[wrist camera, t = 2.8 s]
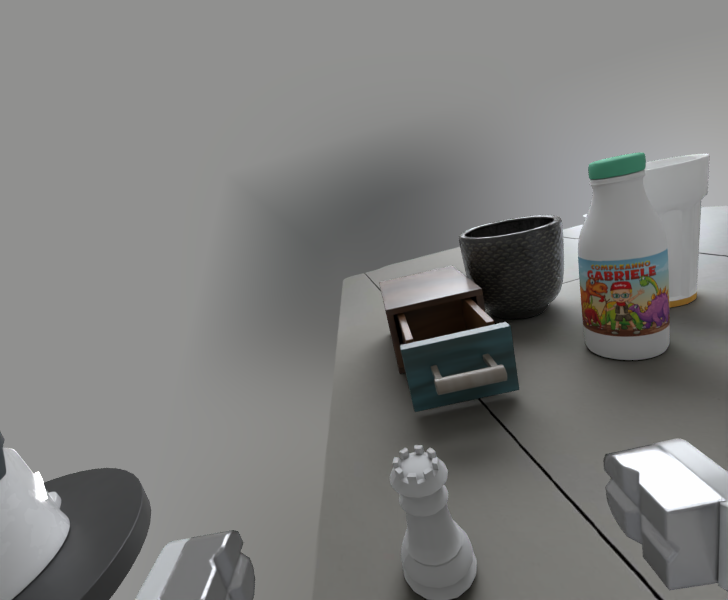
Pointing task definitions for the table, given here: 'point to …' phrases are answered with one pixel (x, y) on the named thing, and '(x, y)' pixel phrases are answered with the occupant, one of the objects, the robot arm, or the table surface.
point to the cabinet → (424, 296)
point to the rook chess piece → (431, 528)
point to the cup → (679, 217)
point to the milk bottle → (623, 264)
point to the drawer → (455, 354)
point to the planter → (516, 264)
